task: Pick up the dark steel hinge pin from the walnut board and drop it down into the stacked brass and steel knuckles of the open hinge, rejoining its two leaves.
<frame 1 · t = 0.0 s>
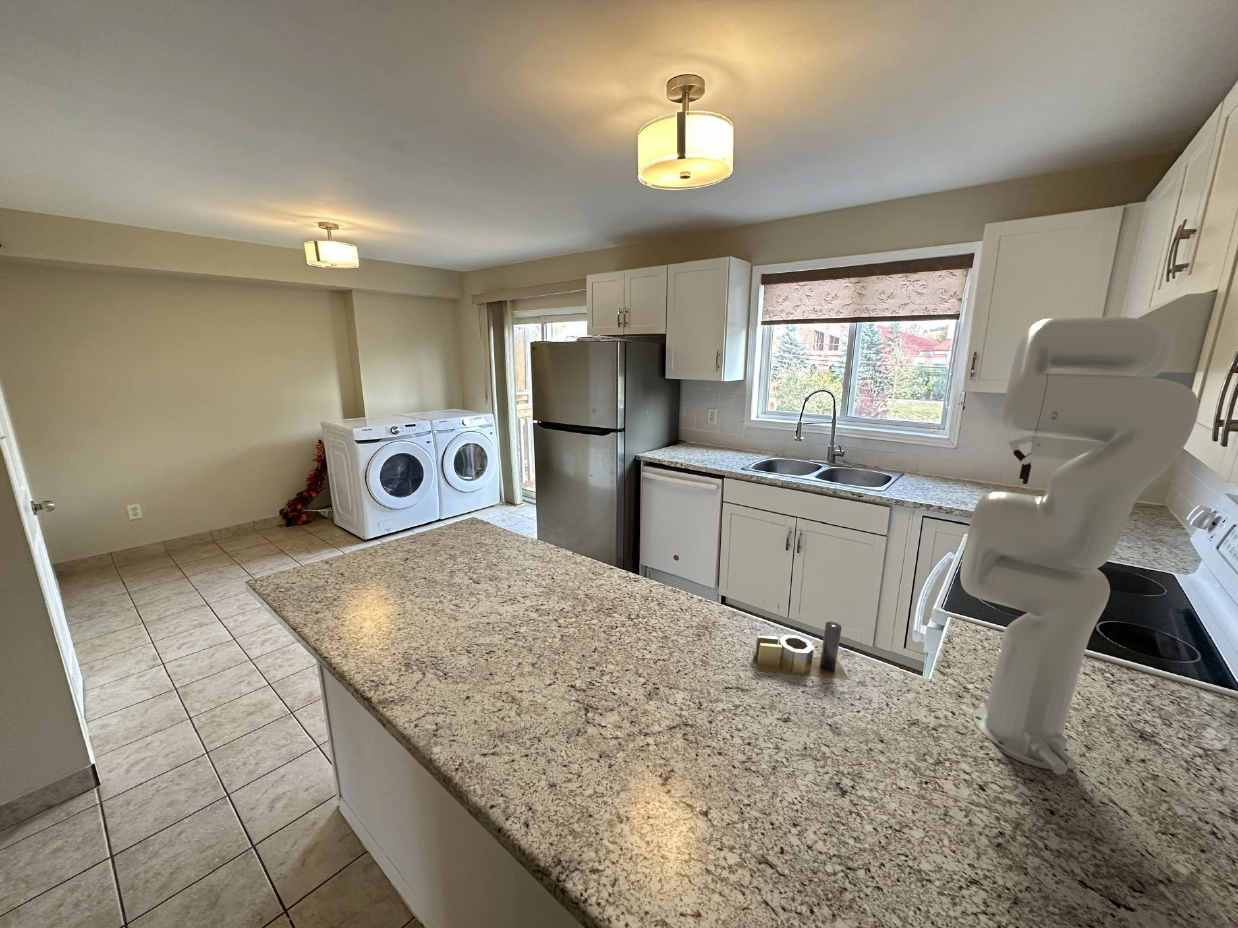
hand: (1055, 487, 96), 37 cm above the worktop, tool pointing down, fingers open, 9 cm apart
base board: (798, 668, 94), on the worktop
hinge pin: (827, 667, 94), point 1 cm above the worktop, touching base board
hinge: (793, 667, 95), resting on base board
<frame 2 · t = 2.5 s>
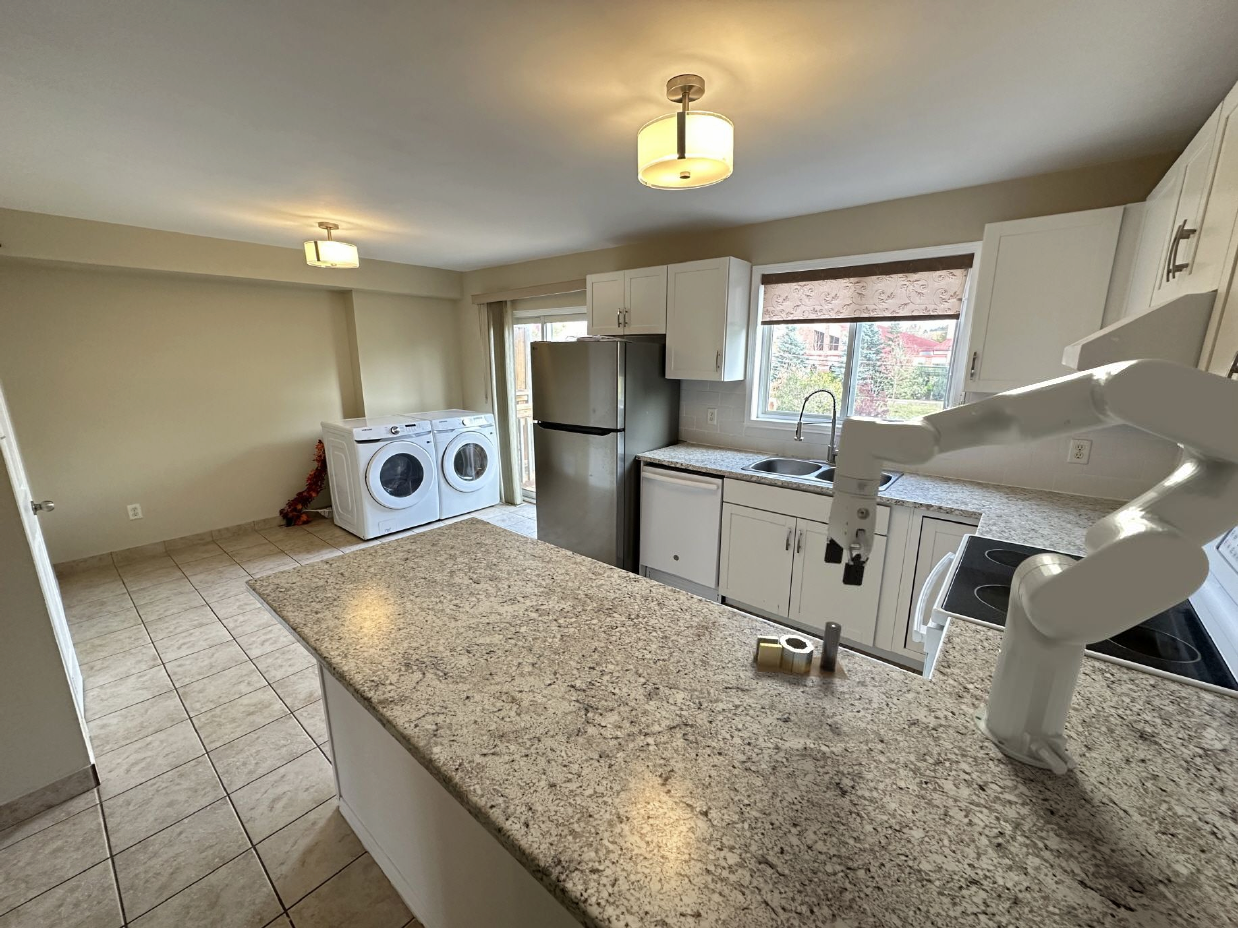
hand: (841, 573, 90), 21 cm above the worktop, tool pointing down, fingers open, 9 cm apart
nothing on the worktop moved.
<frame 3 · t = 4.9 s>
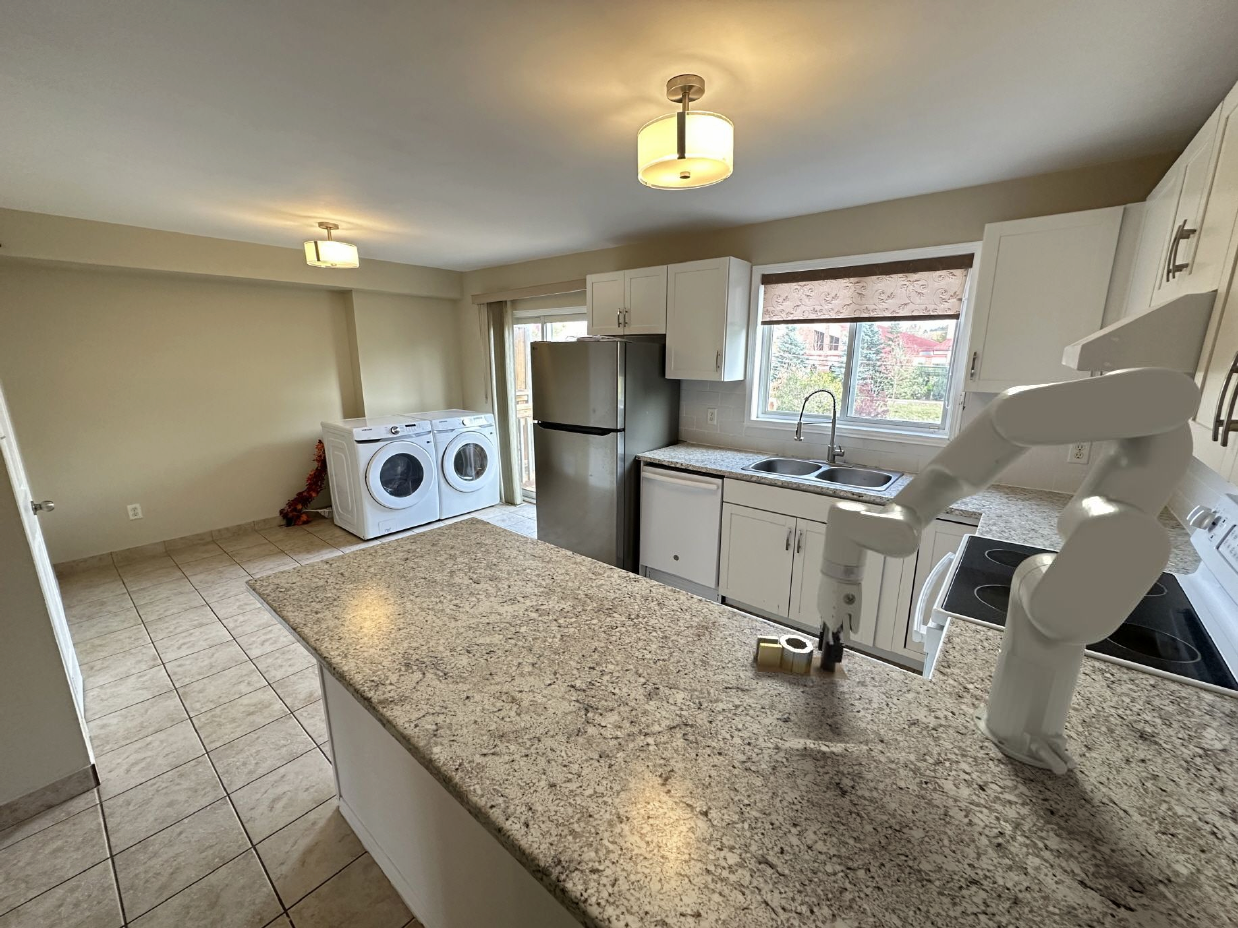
hand: (829, 655, 93), 3 cm above the worktop, tool pointing down, fingers closed on hinge pin, 2 cm apart
hinge pin: (827, 667, 94), point 1 cm above the worktop, touching base board, gripper
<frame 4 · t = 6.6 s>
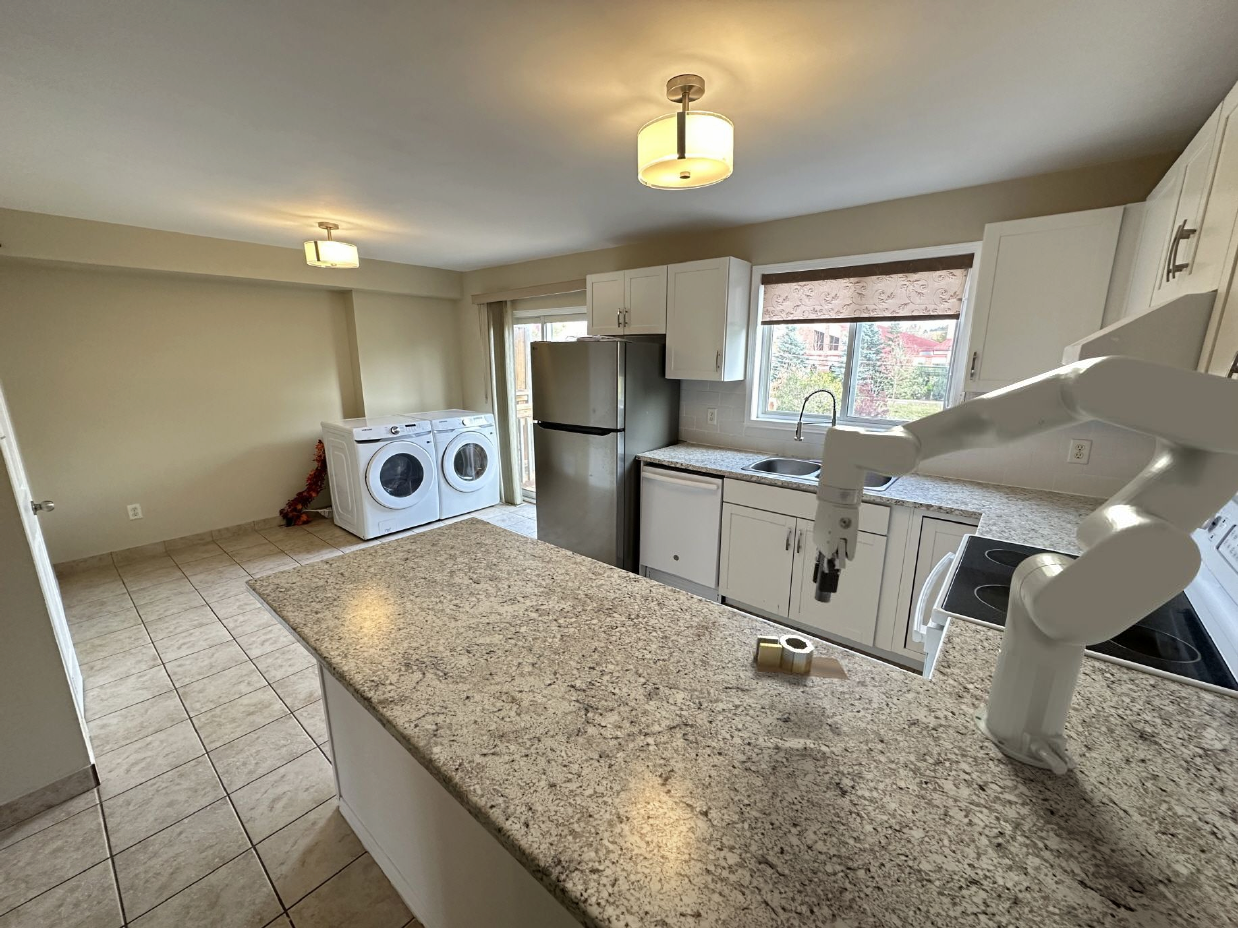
hand: (824, 586, 91), 18 cm above the worktop, tool pointing down, fingers closed on hinge pin, 2 cm apart
hinge pin: (822, 599, 92), point 15 cm above the worktop, touching gripper
when the fingers open (6 cm above the worktop, at t = 8.7 s): hinge pin drops 3 cm, resting on base board.
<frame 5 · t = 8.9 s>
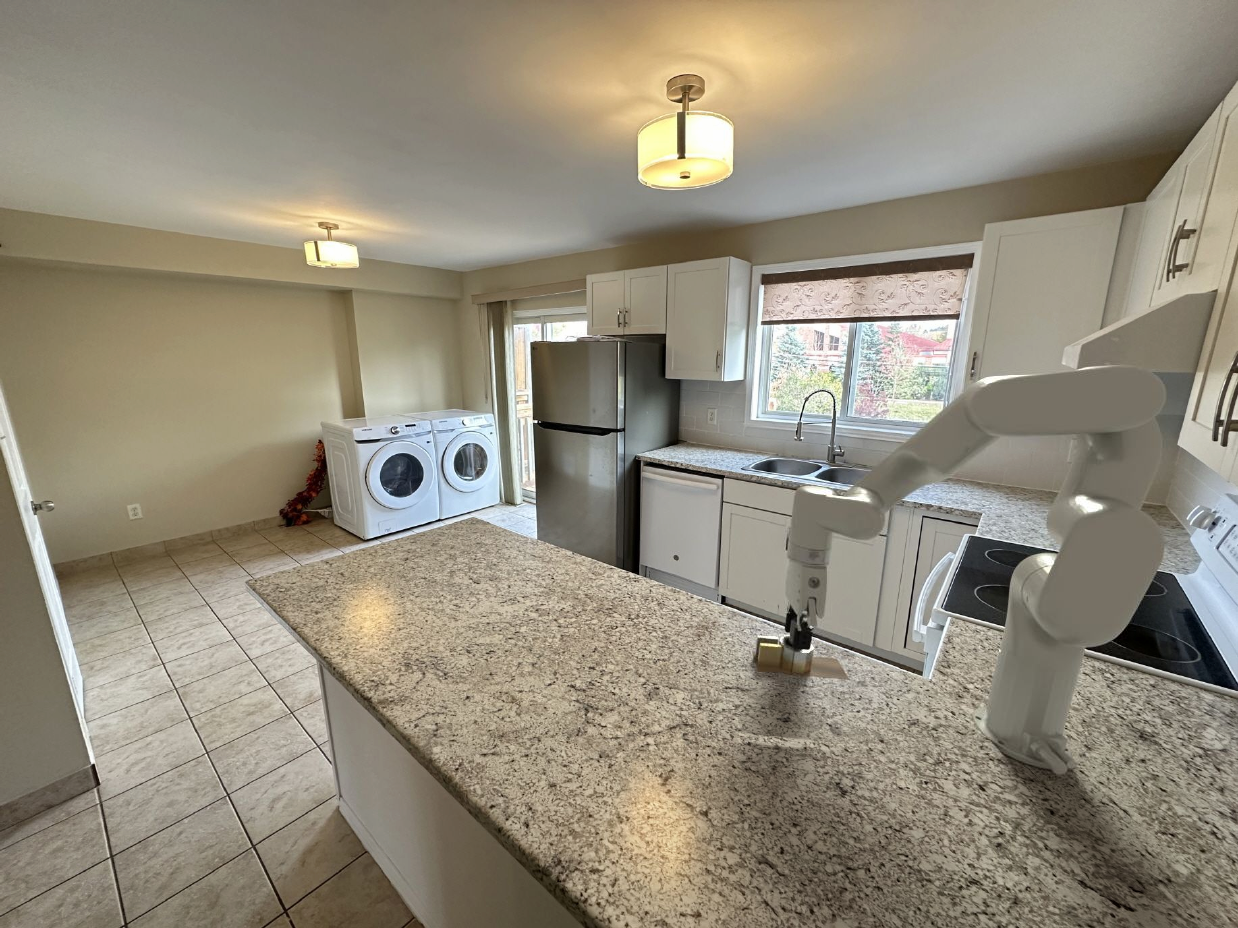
hand: (796, 639, 93), 6 cm above the worktop, tool pointing down, fingers open, 4 cm apart
hinge pin: (793, 664, 94), point 1 cm above the worktop, touching base board
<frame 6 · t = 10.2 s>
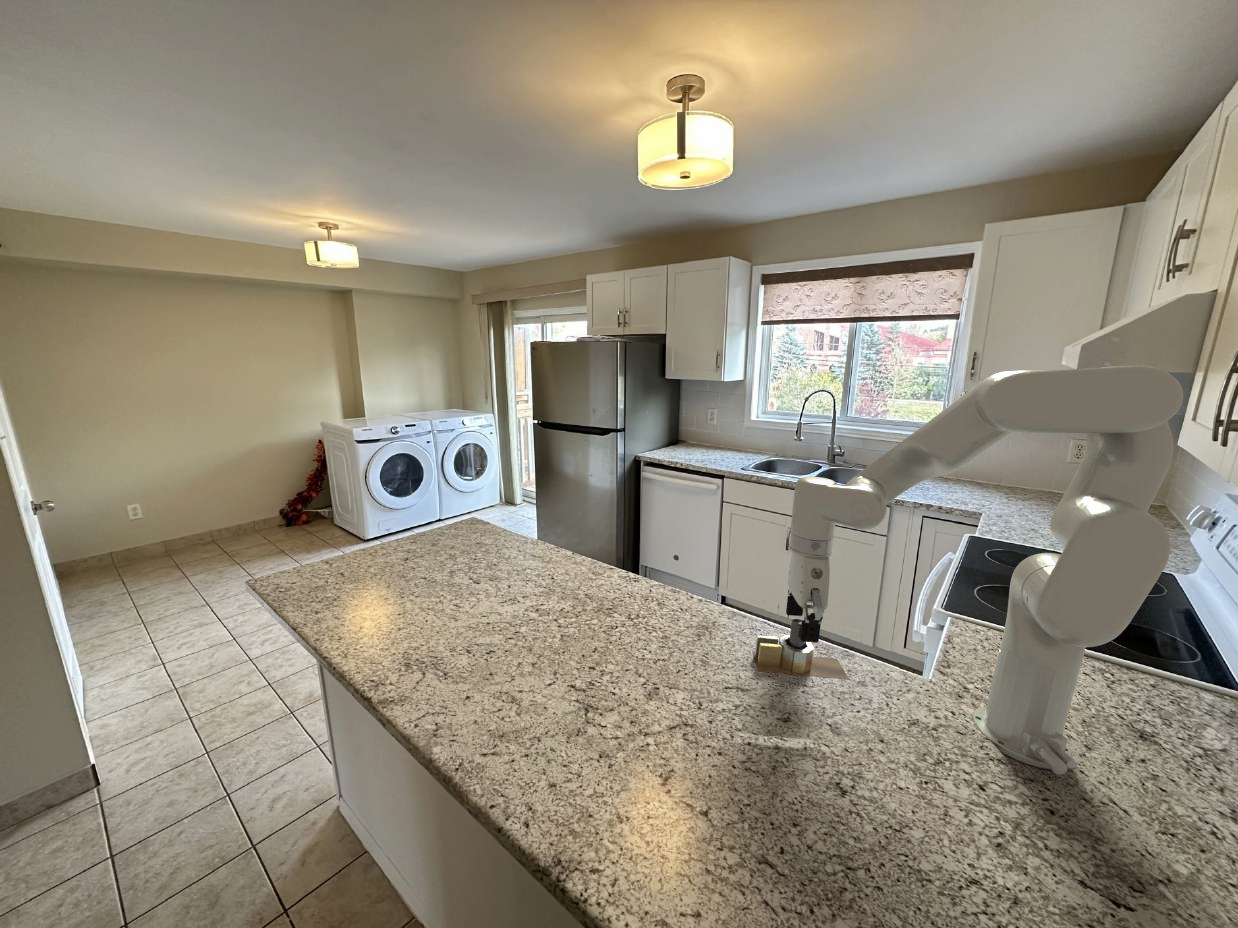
hand: (801, 627, 93), 9 cm above the worktop, tool pointing down, fingers open, 9 cm apart
nothing on the worktop moved.
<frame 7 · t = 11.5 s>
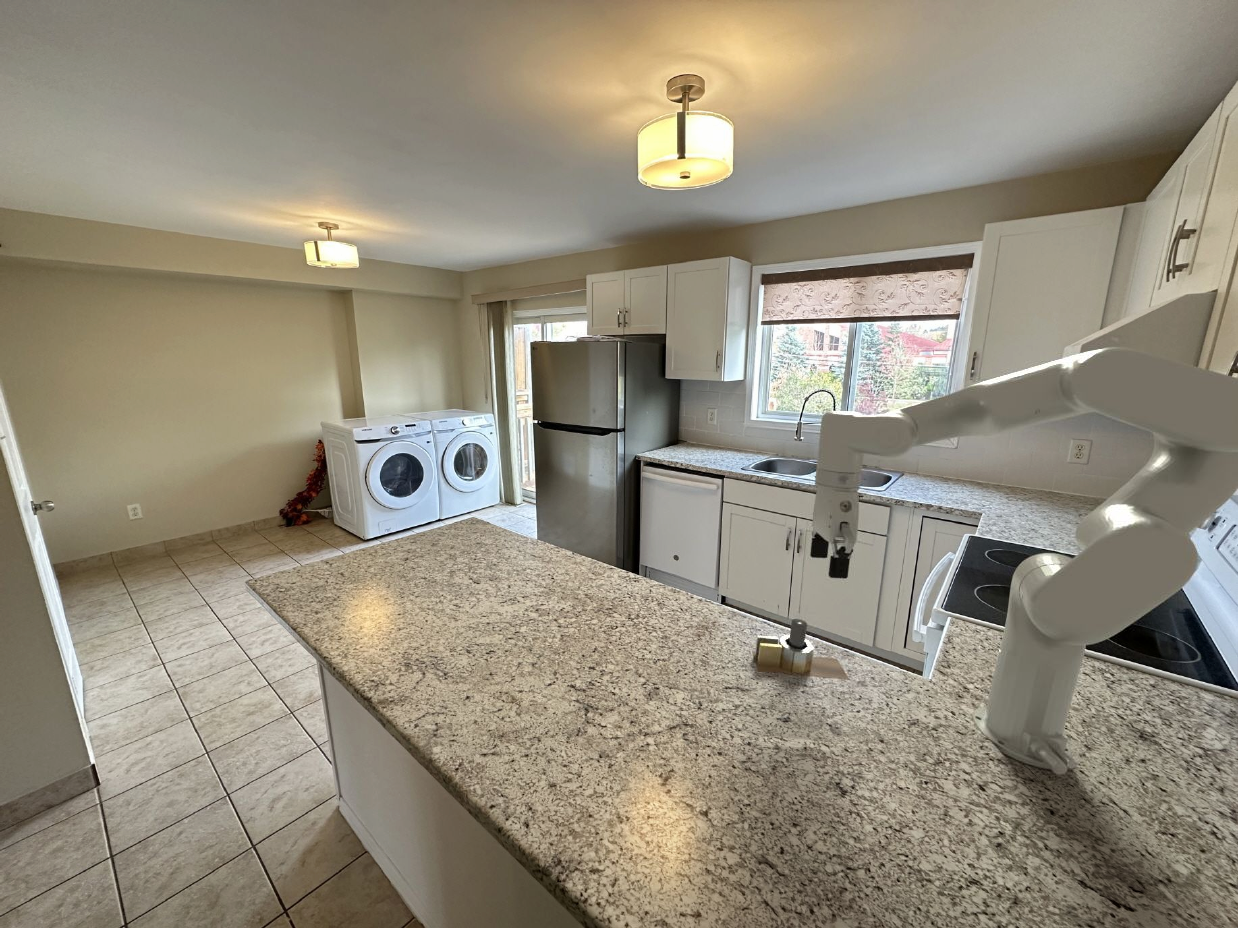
hand: (827, 566, 91), 21 cm above the worktop, tool pointing down, fingers open, 9 cm apart
nothing on the worktop moved.
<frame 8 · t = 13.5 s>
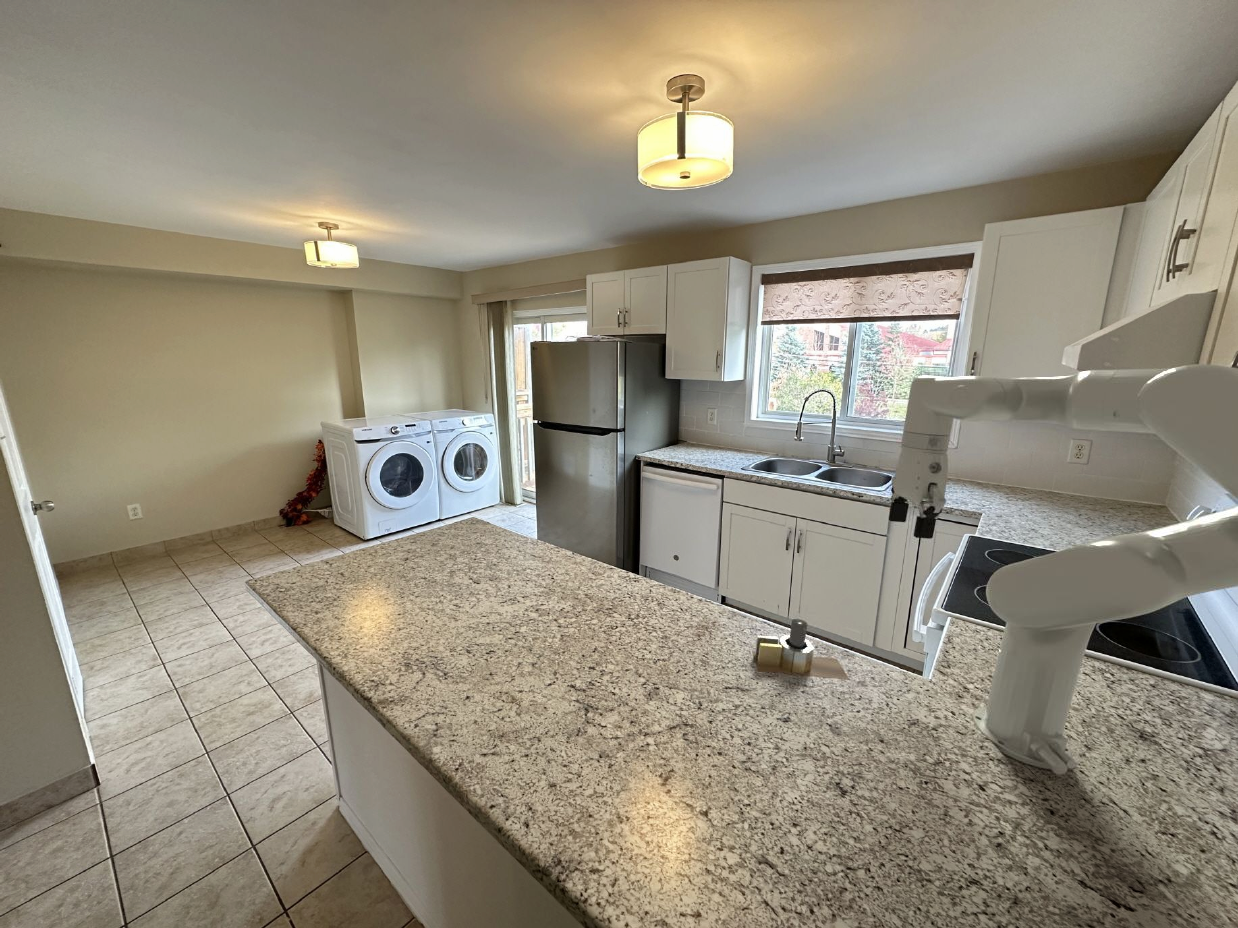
hand: (909, 529, 93), 28 cm above the worktop, tool pointing down, fingers open, 9 cm apart
nothing on the worktop moved.
at the end: hinge pin 0.1 cm off-centre on the hinge, point 0.8 cm above the hinge's base; hinge pin tilted 0°; the gripper is holding nothing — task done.
